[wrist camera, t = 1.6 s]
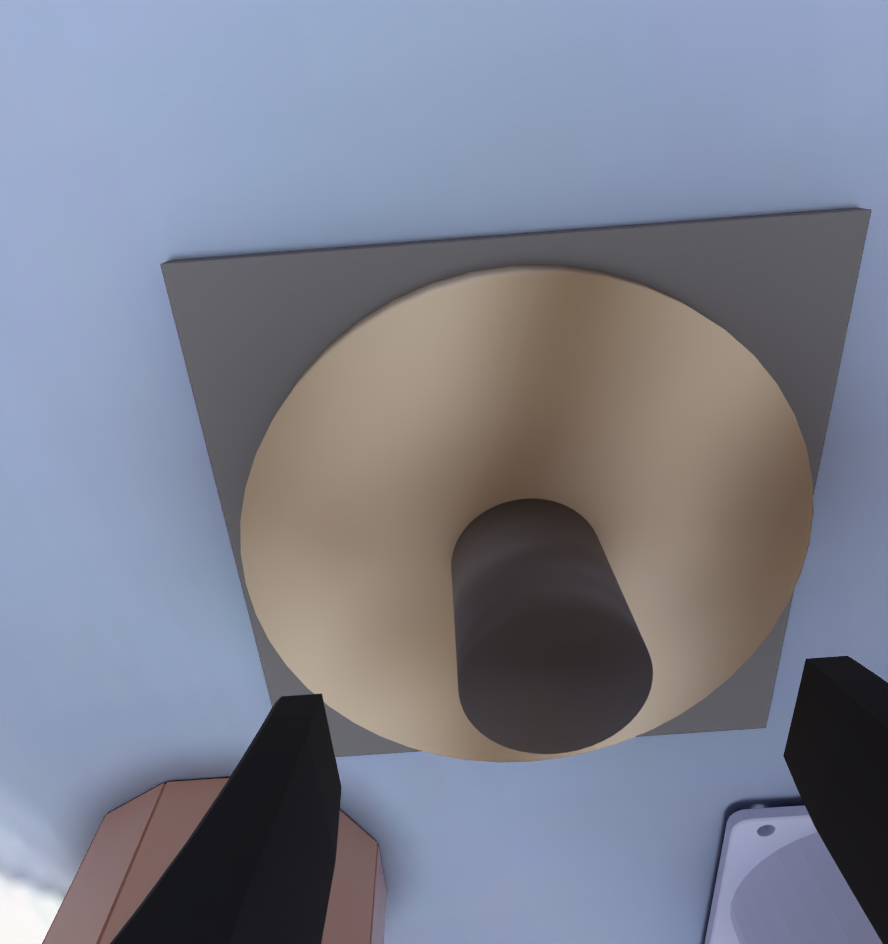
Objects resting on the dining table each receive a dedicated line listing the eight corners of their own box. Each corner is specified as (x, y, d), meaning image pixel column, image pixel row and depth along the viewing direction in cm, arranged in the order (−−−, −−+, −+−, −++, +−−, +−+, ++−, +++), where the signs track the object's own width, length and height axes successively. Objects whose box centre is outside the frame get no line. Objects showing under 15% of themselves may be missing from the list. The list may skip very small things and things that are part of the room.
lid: (838, 240, 12) (1046, 283, 8) (749, 714, 17) (847, 885, 13) (193, 289, 12) (77, 358, 8) (301, 745, 17) (262, 924, 13)
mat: (858, 208, 12) (871, 209, 12) (759, 716, 18) (765, 727, 17) (168, 261, 12) (160, 264, 12) (288, 748, 18) (285, 760, 18)
